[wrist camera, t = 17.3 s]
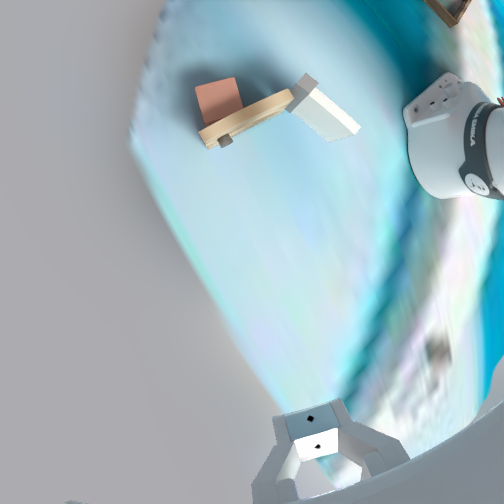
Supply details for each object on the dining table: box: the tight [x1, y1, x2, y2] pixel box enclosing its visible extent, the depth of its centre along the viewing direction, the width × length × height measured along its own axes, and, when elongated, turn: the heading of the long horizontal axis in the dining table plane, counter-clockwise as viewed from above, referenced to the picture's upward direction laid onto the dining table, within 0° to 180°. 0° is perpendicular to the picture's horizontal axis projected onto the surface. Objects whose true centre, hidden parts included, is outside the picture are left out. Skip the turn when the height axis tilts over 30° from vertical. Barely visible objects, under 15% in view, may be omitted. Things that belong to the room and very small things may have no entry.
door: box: [198, 88, 294, 150], centre depth 29 cm, size 10×2×7 cm, turn 119°
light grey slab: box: [285, 73, 361, 143], centre depth 29 cm, size 2×8×9 cm, turn 53°
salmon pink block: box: [195, 77, 243, 127], centre depth 30 cm, size 4×4×5 cm
